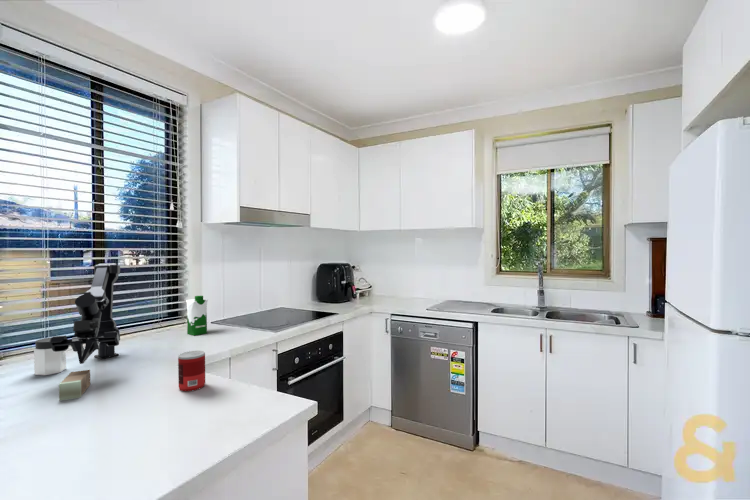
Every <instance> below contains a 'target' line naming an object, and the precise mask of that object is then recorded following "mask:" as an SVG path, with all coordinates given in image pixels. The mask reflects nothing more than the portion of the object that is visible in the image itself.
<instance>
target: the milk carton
mask: <svg viewBox="0 0 750 500" xmlns="http://www.w3.org/2000/svg"><path fill="white" fill-rule="evenodd" d="M208 300H209V299H206V298H204V295H195V296H194V299H185V301H186V307H187V311H186V314H187V317H186V318H187V319H186V320H187V327H186V328H187V329H186V330H187V331H186V334H187V335H190V336H200V335H205V334H208V319H207V318H208V312H207V311H208Z"/></svg>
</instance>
